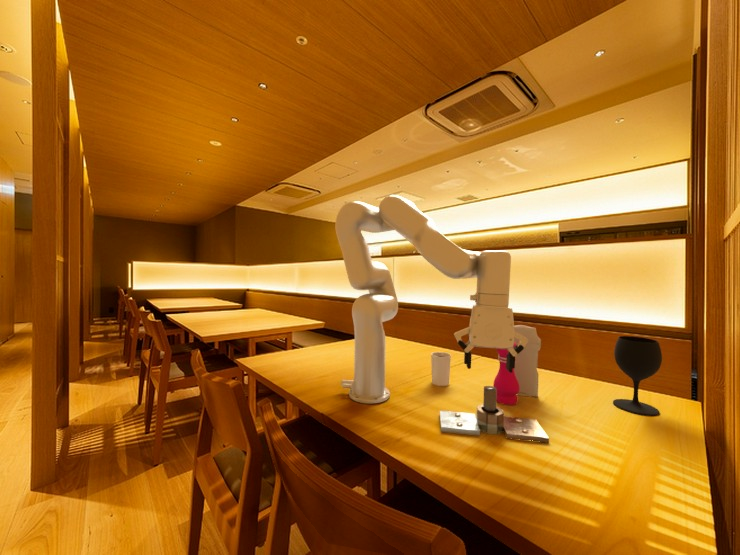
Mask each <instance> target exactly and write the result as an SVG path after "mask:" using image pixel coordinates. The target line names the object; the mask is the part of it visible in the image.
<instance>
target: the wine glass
mask: <svg viewBox="0 0 740 555" xmlns="http://www.w3.org/2000/svg"><path fill="white" fill-rule="evenodd" d="M660 345H661V344H660V342H659V341H658V340H656V339H652V338H649V337H648V338H647V337H643V336H642V337H641V336H632V335H619V336H618V338H617V340H616V342H615V346H614V354H613V355H614V359H615V362H616V364H617V366H618V368H619V369H620V370H621V372H623V373H624V374H625V375H626V376H627V377H629V378H630V379H631V380H632V382H633V383H632V384H633V395H632V396H633V398H632V399H627V398H626V399H625V398H617V399H616V398H615V399H613V400H612V403H613V406H615V407H616V408H618V409H620V410H622V411H625V412H628V413H631V414H634V415H635V414H636V415H639V416H646V417H655V416H659V415H660V410H659V409H658V408H656V407H655V406H653V405H650V404H648V403H646V402H641V401H640V400H639V386H640V382H641V381H644V380H647V379H648V378H651V377H652V376H654V375H656V373H657V372H658V371H659V370H660V368H661V367H662V366H661V365H662V362H663V354H662V348H661V346H660Z"/></svg>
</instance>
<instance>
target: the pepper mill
mask: <svg viewBox="0 0 740 555" xmlns="http://www.w3.org/2000/svg"><path fill="white" fill-rule="evenodd" d="M516 345H517V344H516V343H515V342H514V346H513V348H514V347H515V346H516ZM496 352H497V354H498V355H497V357H498V358H497V360H498V361H499V368H498V371H497V374H496V375H495V378H494V380H493V387H495V388H497V400H496V403H497V402H498V404H500V405H501V404H502V405H506V406H513V405H517V404H518V395H516V394H517V393H518V392H519V390H520V388H519V382H518V380H517V378H516V376H515V372H514V368H513V369H512V373H510V372H508V370H507V369H506V361H507V354H508V353H509V351H508V350H507V349H496ZM515 362H516V357H515Z"/></svg>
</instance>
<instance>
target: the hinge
mask: <svg viewBox="0 0 740 555" xmlns="http://www.w3.org/2000/svg"><path fill="white" fill-rule="evenodd" d="M439 422H440V423H439V424H440V433H449V434H456V435H457V434H459V435H468V436H476V437H477V436H478V437H480V436H481V432H482V433H485V434H489V435H500V434H502V433H505V434H504V435H506V436H505V438H506V437H507V438H512V439H511V440H514V439H520V440H519V441H524V440H531V441H530V442H533V441H540V442H539V443H542V442H547V443H546V444H550V438H549V436H548V434H547V433H546V432H545V430H544V429H543V427H542V426H541V424H539V422H538V421H537V419H534V418H525V417H514V416H505V412H504V410H503V409H502V408H501V407H499V406H497V405H496V413H487V412H485V411H483V403H482V404H479V405H477V406H476V414H475V413H472V412H471V413H469V412H461V411H449V410H439ZM507 438H506V439H507ZM532 440H533V441H532Z"/></svg>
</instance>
